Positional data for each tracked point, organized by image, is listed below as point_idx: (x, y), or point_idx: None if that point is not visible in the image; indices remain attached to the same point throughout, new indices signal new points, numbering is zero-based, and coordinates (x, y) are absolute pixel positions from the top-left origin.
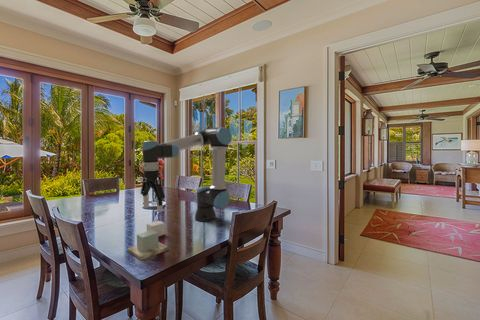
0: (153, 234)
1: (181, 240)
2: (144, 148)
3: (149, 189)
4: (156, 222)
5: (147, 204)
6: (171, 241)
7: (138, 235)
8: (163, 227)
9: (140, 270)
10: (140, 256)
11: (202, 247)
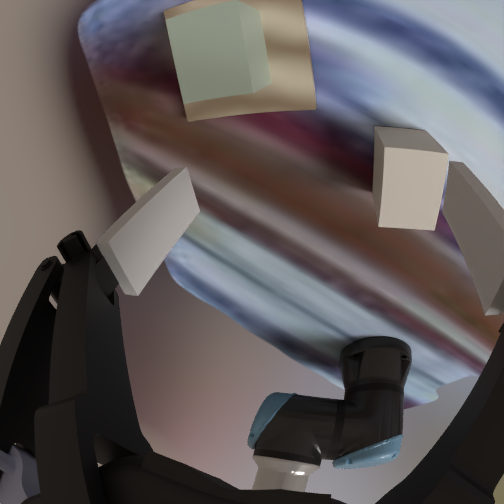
0: (178, 77)
1: (253, 200)
2: None
3: (453, 420)
4: (423, 204)
5: (455, 213)
6: (272, 167)
7: (211, 5)
8: (377, 206)
9: (112, 10)
10: (167, 10)
11: None
